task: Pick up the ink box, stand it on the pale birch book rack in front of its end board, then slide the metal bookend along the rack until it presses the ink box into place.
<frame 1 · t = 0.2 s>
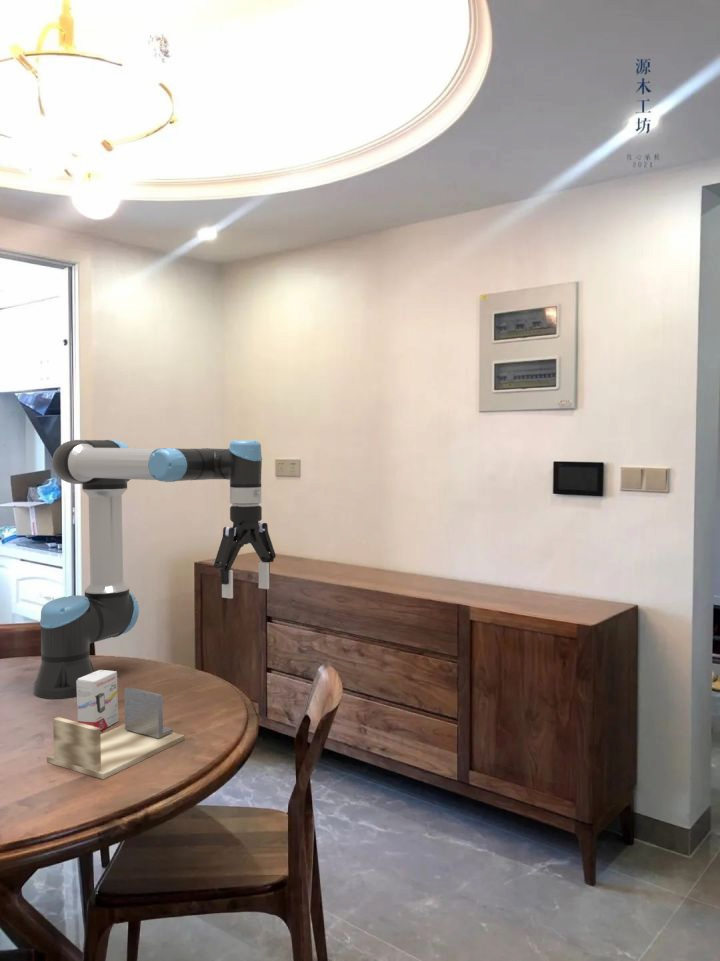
hand: (246, 593, 178), 28 cm above the table, fingers open, 13 cm apart
bookend: (148, 710, 161), point 6 cm above the table, slide at 0.0 cm
rack: (118, 750, 153), on the table
ink box: (98, 728, 166), on the table
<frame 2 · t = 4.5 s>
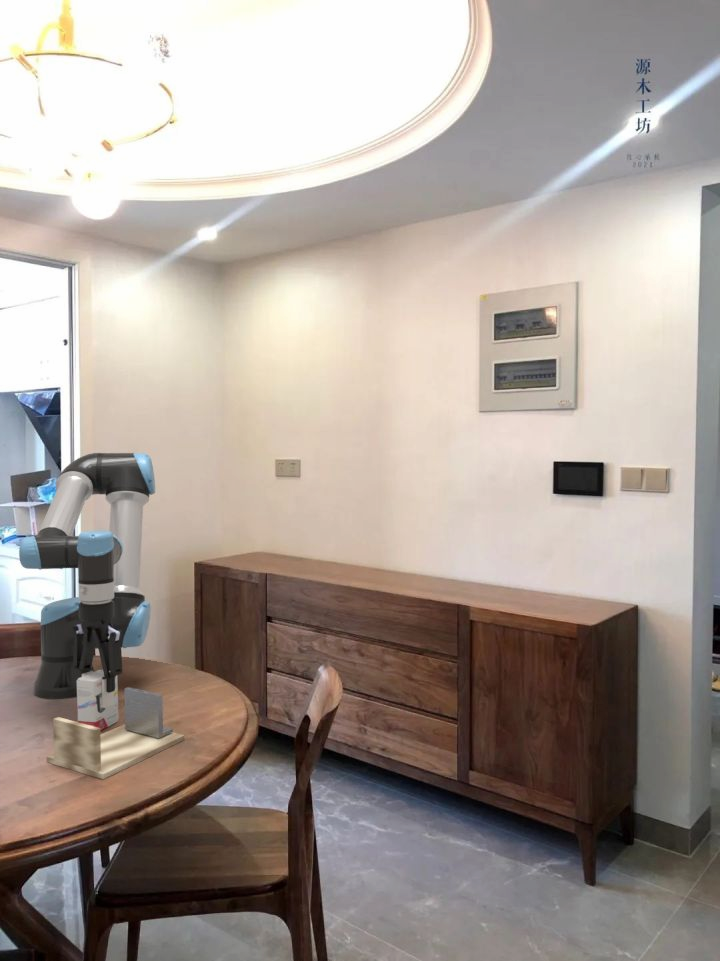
hand: (97, 703, 166), 5 cm above the table, fingers closed on ink box, 6 cm apart
ink box: (98, 727, 166), on the table, touching gripper
everything else where it was.
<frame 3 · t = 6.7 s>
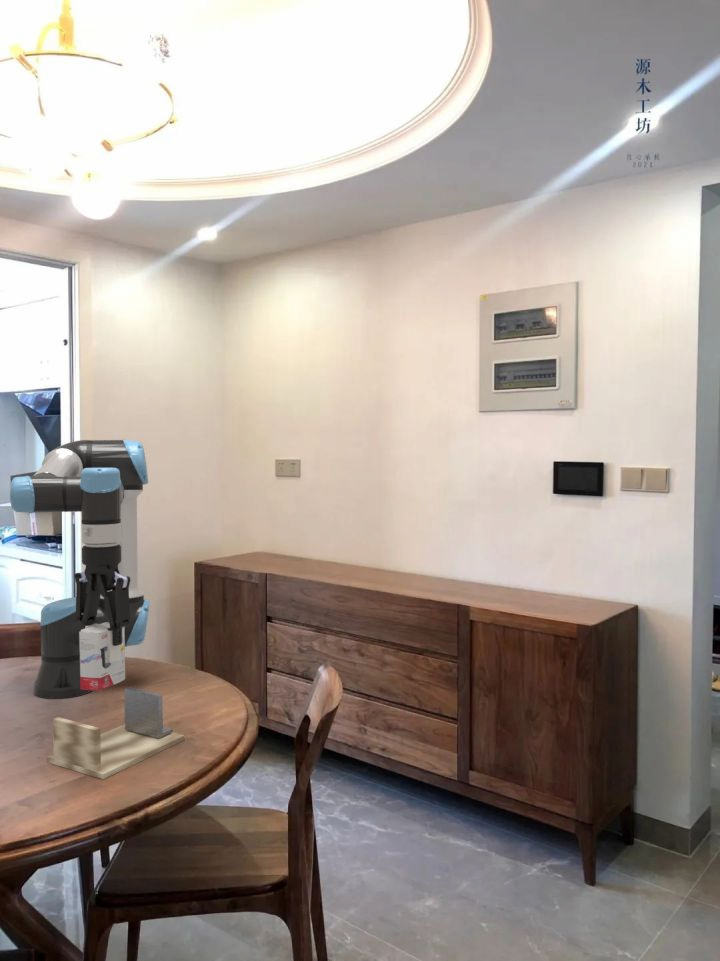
hand: (103, 658, 150), 20 cm above the table, fingers closed on ink box, 6 cm apart
ink box: (102, 685, 150), point 14 cm above the table, touching gripper
everything else where it was.
when the fingers open (7 cm above the table, at t = 9.3 s): ink box stays where it is, resting on rack.
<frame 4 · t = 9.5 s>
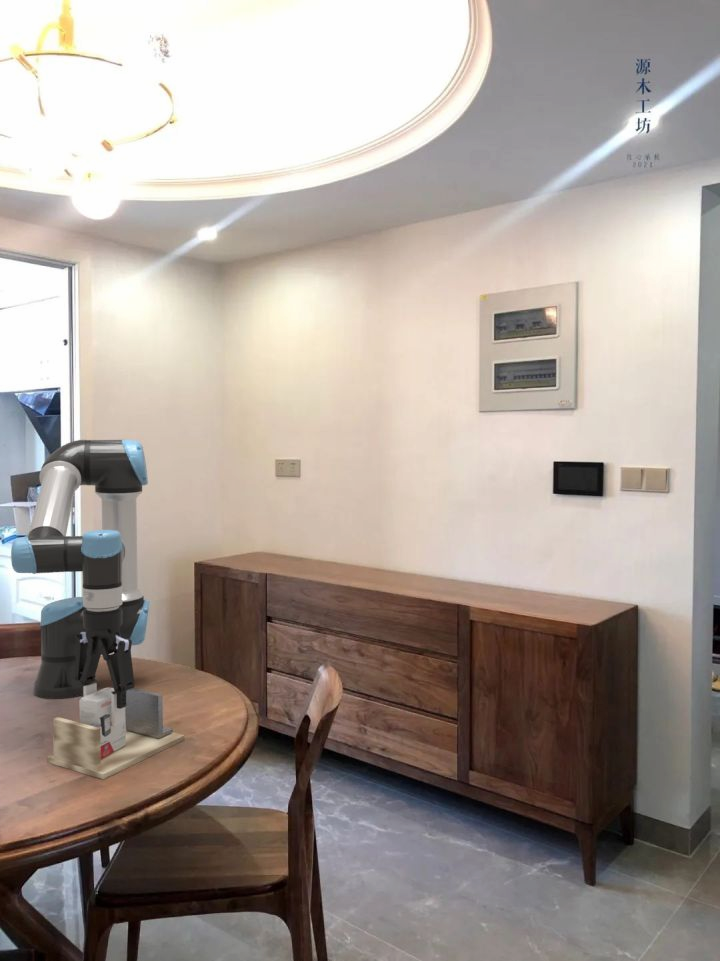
hand: (104, 719, 150), 8 cm above the table, fingers open, 7 cm apart
ink box: (103, 752, 150), point 1 cm above the table, touching rack
everything else where it was.
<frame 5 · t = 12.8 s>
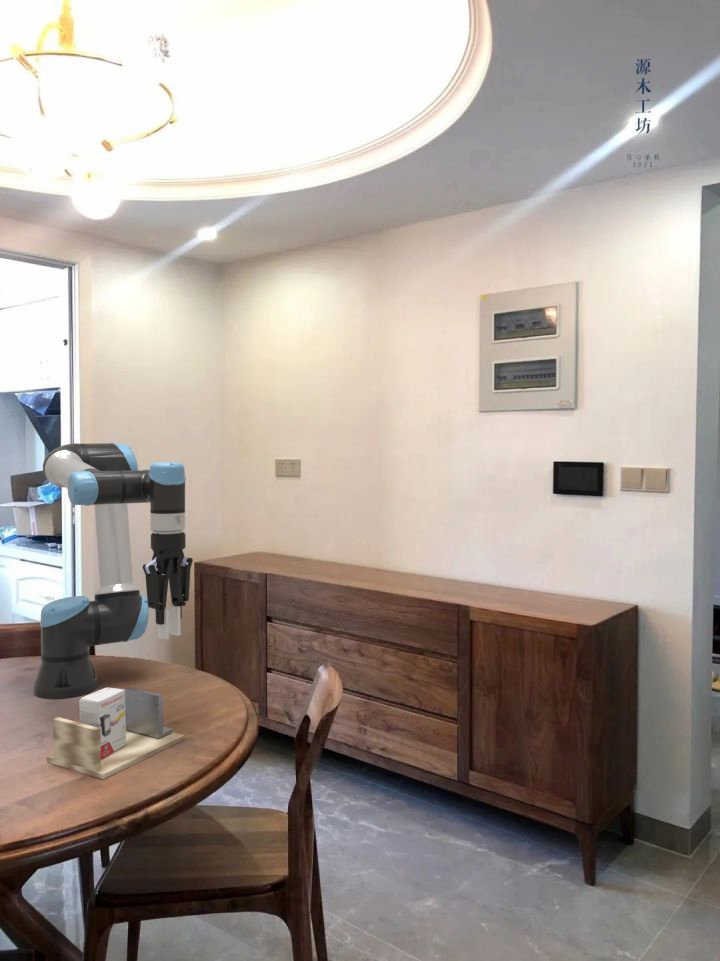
hand: (169, 636, 166), 21 cm above the table, fingers open, 3 cm apart
nothing on the table moved.
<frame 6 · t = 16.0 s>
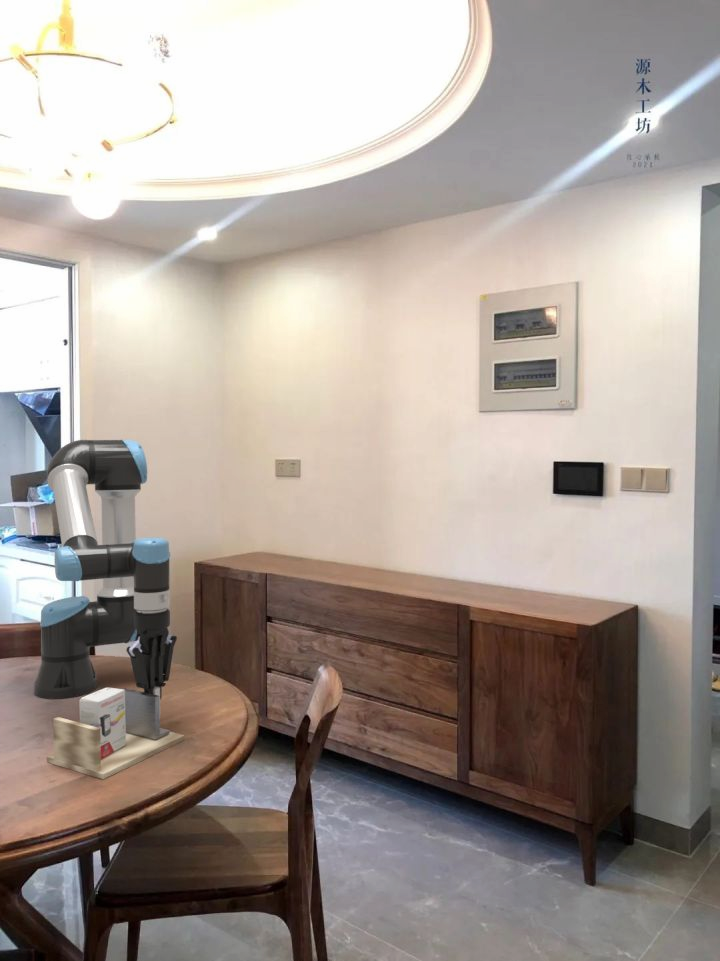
hand: (153, 716, 162), 4 cm above the table, fingers closed
bookend: (145, 711, 160), point 6 cm above the table, slide at 0.9 cm, touching gripper
everything else where it was.
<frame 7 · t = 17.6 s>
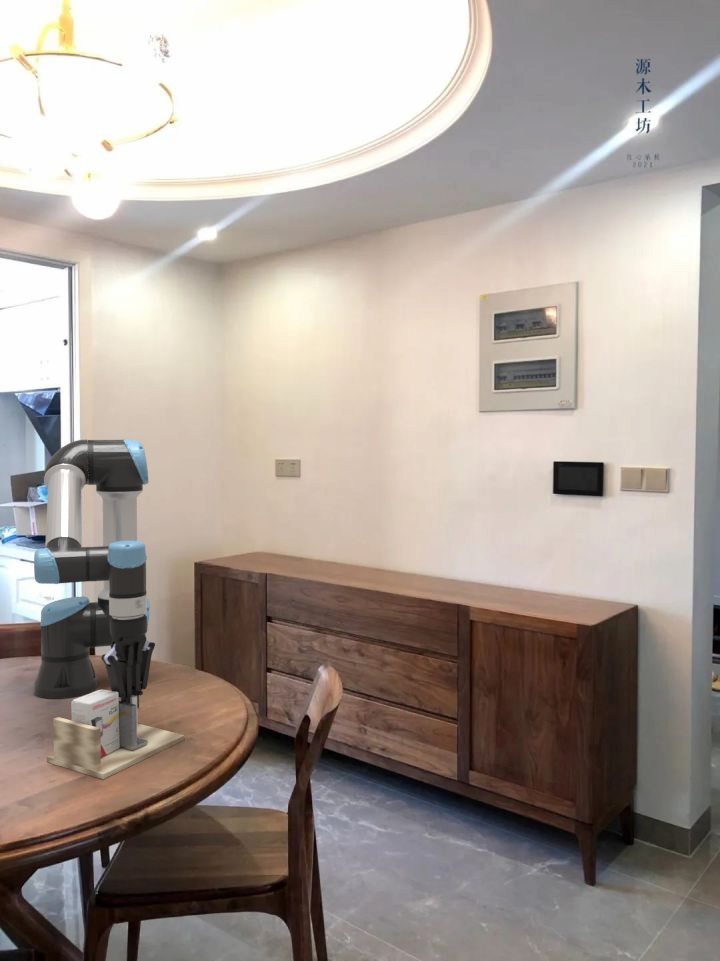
hand: (130, 726, 156), 4 cm above the table, fingers closed
bookend: (122, 720, 154), point 6 cm above the table, slide at 7.3 cm, touching gripper, ink box
ink box: (96, 755, 149), point 1 cm above the table, touching bookend, rack
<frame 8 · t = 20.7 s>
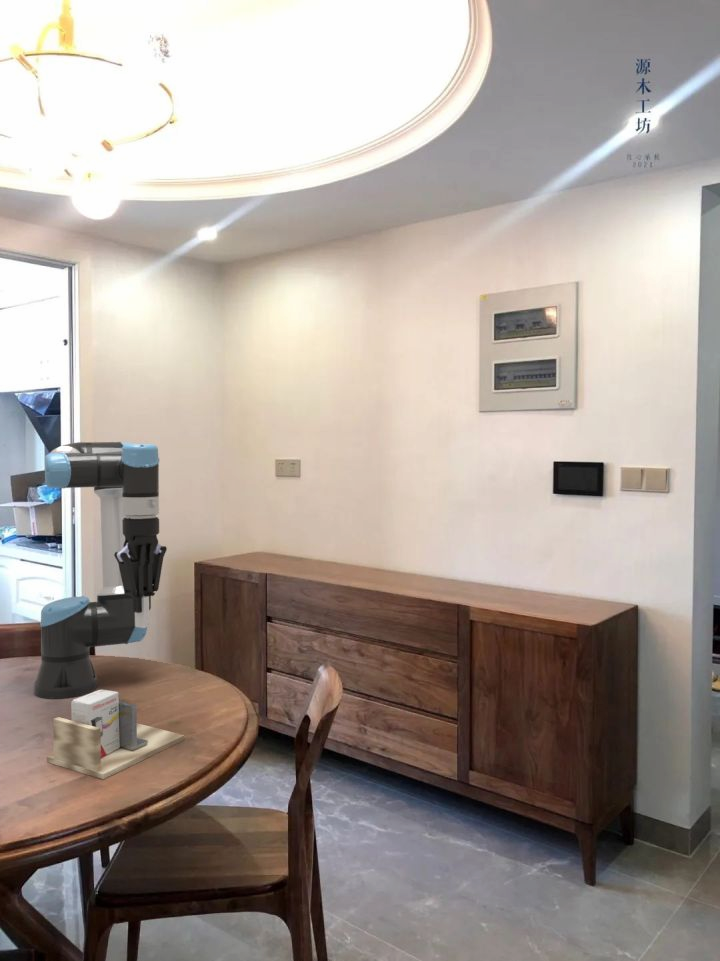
hand: (142, 626, 158), 24 cm above the table, fingers closed
bookend: (122, 720, 154), point 6 cm above the table, slide at 7.3 cm
ink box: (96, 755, 149), point 1 cm above the table, touching rack
at the end: ink box inside the target area (0.9 cm from its centre), point 0.8 cm above the table; ink box tilted 0°; bookend slide at 7.3 cm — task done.
